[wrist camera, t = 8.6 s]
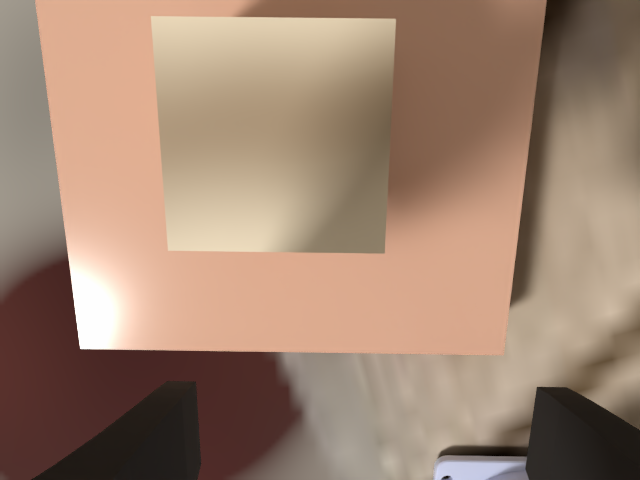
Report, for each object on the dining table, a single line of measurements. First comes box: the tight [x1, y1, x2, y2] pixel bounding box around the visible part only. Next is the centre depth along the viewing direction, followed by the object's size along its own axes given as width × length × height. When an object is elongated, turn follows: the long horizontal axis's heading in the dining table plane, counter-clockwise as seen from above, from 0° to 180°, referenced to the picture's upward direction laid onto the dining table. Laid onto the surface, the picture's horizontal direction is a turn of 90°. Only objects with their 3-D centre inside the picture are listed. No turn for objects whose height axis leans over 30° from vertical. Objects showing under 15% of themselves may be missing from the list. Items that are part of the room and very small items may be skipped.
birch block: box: [151, 16, 396, 254], centre depth 13 cm, size 5×5×5 cm
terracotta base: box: [35, 0, 547, 355], centre depth 17 cm, size 15×15×2 cm
